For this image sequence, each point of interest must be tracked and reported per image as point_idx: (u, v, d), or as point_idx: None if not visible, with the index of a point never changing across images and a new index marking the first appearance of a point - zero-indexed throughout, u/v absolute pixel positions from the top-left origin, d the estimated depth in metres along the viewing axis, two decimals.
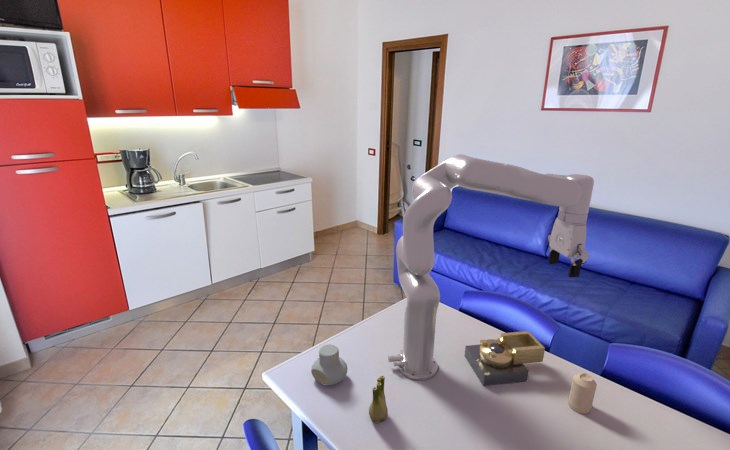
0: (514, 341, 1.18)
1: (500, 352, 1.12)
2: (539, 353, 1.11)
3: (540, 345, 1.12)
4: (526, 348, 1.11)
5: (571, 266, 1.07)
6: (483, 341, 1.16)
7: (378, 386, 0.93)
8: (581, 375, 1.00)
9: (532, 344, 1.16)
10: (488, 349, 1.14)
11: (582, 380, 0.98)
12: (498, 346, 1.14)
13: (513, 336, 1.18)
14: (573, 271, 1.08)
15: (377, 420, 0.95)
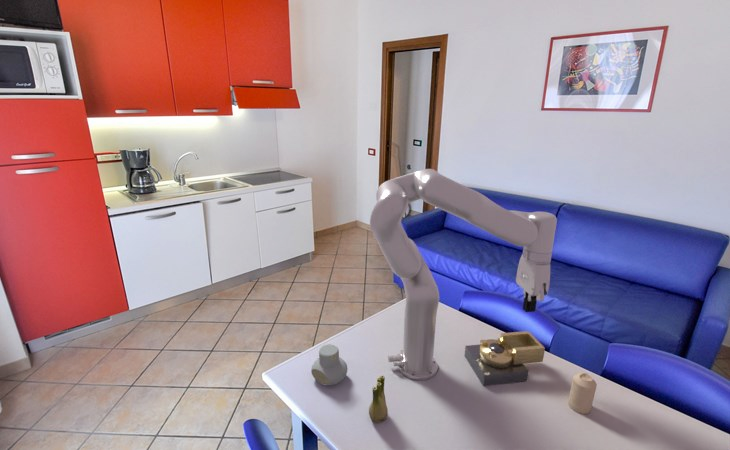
0: (514, 341, 1.18)
1: (500, 352, 1.12)
2: (539, 353, 1.11)
3: (540, 345, 1.12)
4: (526, 348, 1.11)
5: (527, 301, 1.10)
6: (483, 341, 1.16)
7: (378, 386, 0.93)
8: (581, 375, 1.00)
9: (532, 344, 1.16)
10: (488, 349, 1.14)
11: (582, 380, 0.98)
12: (498, 346, 1.14)
13: (513, 336, 1.18)
14: (528, 306, 1.10)
15: (377, 420, 0.95)
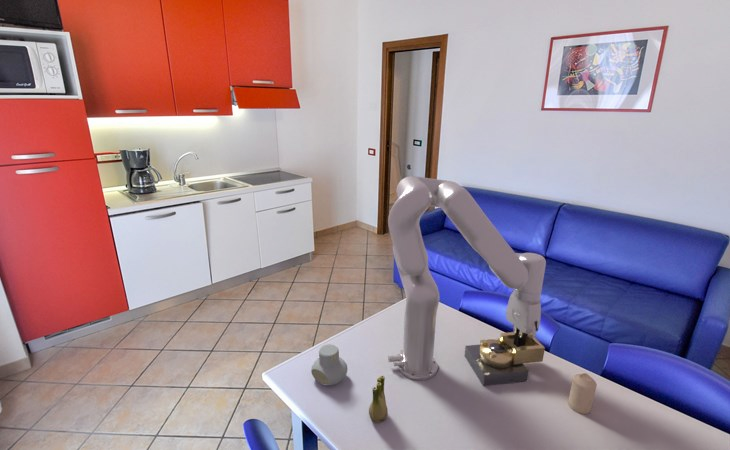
0: None
1: (500, 352, 1.12)
2: (539, 353, 1.12)
3: (540, 345, 1.12)
4: (526, 348, 1.11)
5: (518, 337, 1.14)
6: (483, 341, 1.16)
7: (378, 386, 0.93)
8: (581, 375, 1.00)
9: (532, 344, 1.16)
10: (488, 349, 1.14)
11: (582, 380, 0.98)
12: (498, 346, 1.14)
13: (513, 336, 1.18)
14: (520, 341, 1.15)
15: (377, 420, 0.95)
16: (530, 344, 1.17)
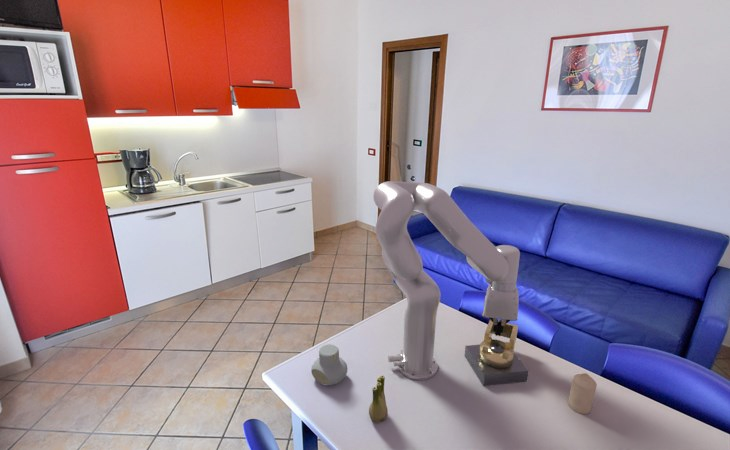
0: (490, 333, 1.22)
1: (504, 350, 1.13)
2: None
3: (513, 325, 1.23)
4: (514, 334, 1.18)
5: (501, 327, 1.19)
6: (485, 349, 1.13)
7: (378, 386, 0.93)
8: (581, 375, 1.00)
9: None
10: (495, 353, 1.12)
11: (582, 380, 0.98)
12: (496, 345, 1.15)
13: (491, 329, 1.21)
14: (501, 330, 1.20)
15: (377, 420, 0.95)
16: None
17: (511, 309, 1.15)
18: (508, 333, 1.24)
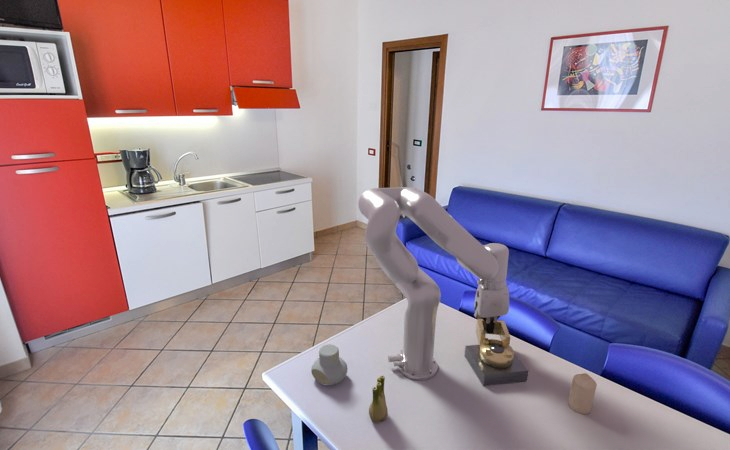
0: None
1: (504, 348, 1.14)
2: None
3: (500, 321, 1.25)
4: (506, 330, 1.20)
5: None
6: (489, 351, 1.12)
7: (378, 386, 0.93)
8: (581, 375, 1.00)
9: None
10: (498, 354, 1.12)
11: (582, 380, 0.98)
12: (496, 345, 1.15)
13: (483, 330, 1.21)
14: None
15: (377, 420, 0.95)
16: None
17: (504, 305, 1.17)
18: (495, 330, 1.26)
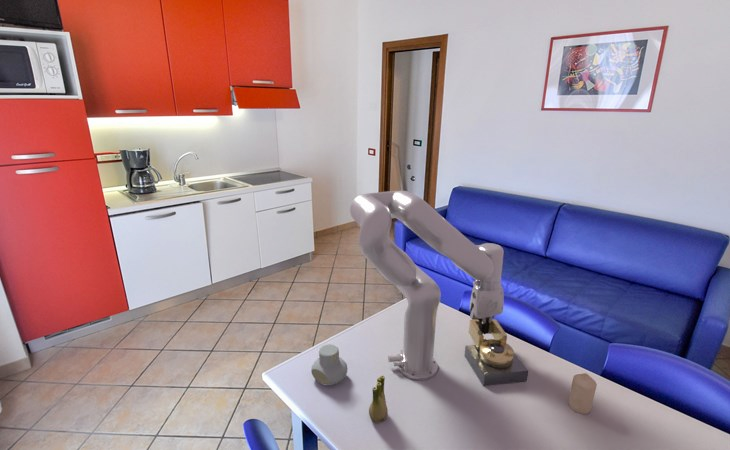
0: None
1: (503, 347, 1.14)
2: None
3: (492, 320, 1.25)
4: (500, 328, 1.21)
5: (488, 324, 1.20)
6: (491, 352, 1.11)
7: (378, 386, 0.93)
8: (581, 375, 1.00)
9: None
10: (500, 354, 1.12)
11: (582, 380, 0.98)
12: (495, 345, 1.15)
13: None
14: None
15: (377, 420, 0.95)
16: None
17: (499, 304, 1.17)
18: None
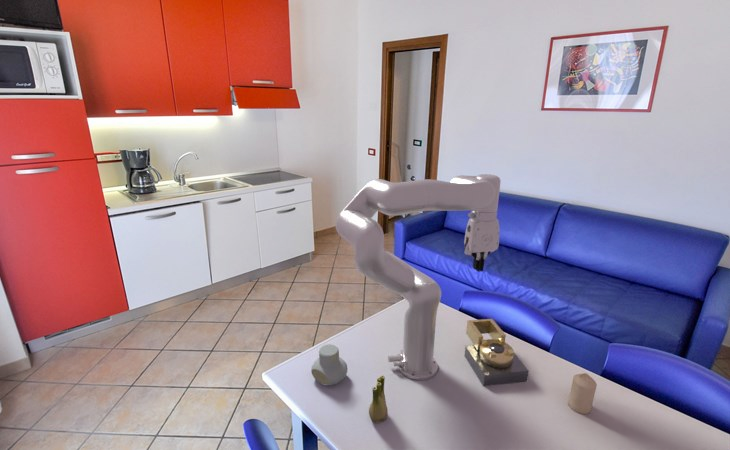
0: None
1: None
2: None
3: (489, 320, 1.26)
4: (498, 328, 1.21)
5: (483, 261, 1.16)
6: (492, 353, 1.11)
7: (378, 386, 0.93)
8: (581, 375, 1.00)
9: (480, 326, 1.25)
10: (500, 354, 1.12)
11: (582, 380, 0.98)
12: (495, 346, 1.15)
13: None
14: None
15: (377, 420, 0.95)
16: (477, 328, 1.26)
17: (494, 239, 1.13)
18: (485, 329, 1.26)
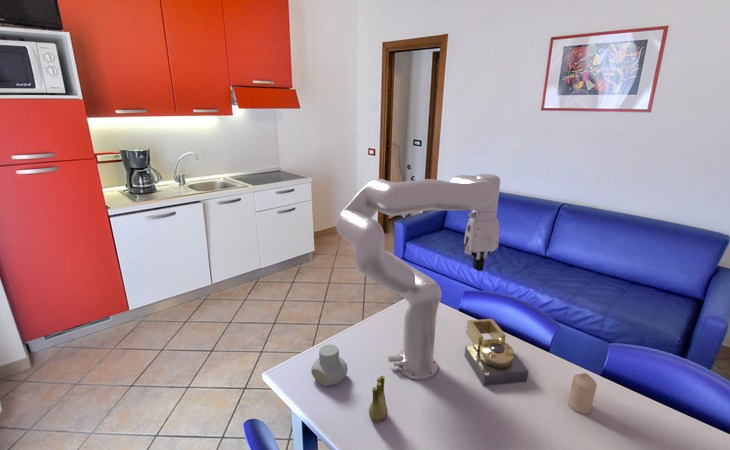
0: None
1: None
2: None
3: (489, 320, 1.26)
4: (498, 328, 1.21)
5: None
6: (492, 353, 1.11)
7: (378, 386, 0.93)
8: (581, 375, 1.00)
9: (480, 326, 1.25)
10: (500, 354, 1.12)
11: (582, 380, 0.98)
12: (495, 346, 1.15)
13: None
14: None
15: (377, 420, 0.95)
16: (477, 328, 1.26)
17: (494, 238, 1.13)
18: (485, 329, 1.26)
